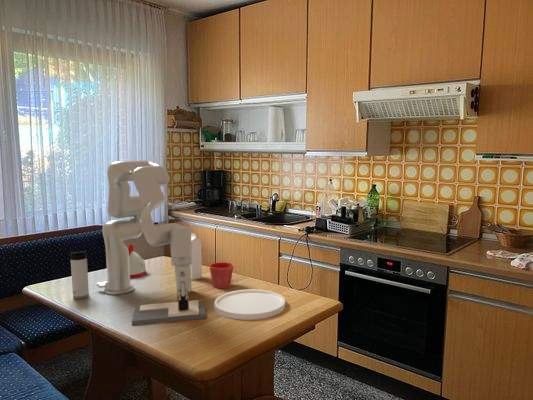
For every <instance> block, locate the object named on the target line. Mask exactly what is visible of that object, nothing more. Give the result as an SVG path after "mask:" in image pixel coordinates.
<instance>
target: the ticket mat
mask: <svg viewBox="0 0 533 400" xmlns="http://www.w3.org/2000/svg"><path fill="white" fill-rule="evenodd" d="M189 305H198V308H199V314H197V315H186V316H175V317H168V307H175V306H178V302H177V301H172V302H162V303H150V304H140V305H136V306H135V305H134V306H135V307H134V311H133V315H132V319H131V325H132V326H134V325H135V326H137V325H147V324H148V325H149V324H158V323H167V322H168V323H169V322H178V321H179V322H180V321H188V320H200V319H206V318H207V315H206V308H205V303H204V300H199V299H197V300H196V299H195V300H189Z"/></svg>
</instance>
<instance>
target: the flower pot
mask: <svg viewBox="0 0 533 400" xmlns="http://www.w3.org/2000/svg"><path fill="white" fill-rule="evenodd" d="M208 267H209V272H210V277H211V282H212V286H213V287H214V288H216V289H227V288H229V287H230V286H231V284H232V283H231V281H232V277H233V273H234V272H233V270H234V264H233V263H231V262H223V261H222V262H214V263H211V264H209V266H208Z"/></svg>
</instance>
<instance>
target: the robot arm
mask: <svg viewBox="0 0 533 400" xmlns="http://www.w3.org/2000/svg"><path fill="white" fill-rule="evenodd" d="M106 173H107V175H106V176H107V180H108V186H109V187H108V197H107V198H108V201H107V214H108V216H109V217H111V218H112V220H109V221H106V222H104V224H103V225H102V229H101V230H102V231H101V232H102V237H103V240H104V246H105V247H104V248H105V259H106V275H107V276H106V277H107V280H105V281H102V282H101V281H100V282H98V281H97V283H96V287H97V288H99V289H102V288H104V291H103V292H104V293H105V294H106V295H122V294H127V293H130V292H133V291H134V289H135V285H134V284H133V283H131V278H130V266H129V250H128V248H129V247H128V246H127V245H126V244H125V243H124V241H127V240H132V239H138V238H140V237H141V236H142V234H143V236H144V238H145V240H146V242H147V243H148V244H149V245H150V246H152V247H161V246H164V245H170V261H171V263H170V264H171V266H173V267H174V274H175V275H174V276H175V286H176V293H177V292H178V293H179V310H180V311H182V310H188V299H187V291H189V293H191V292H192V283H191V284H190V266H189V265H191V264H192V240H191V233H192V229H191V227H189V226H188V225H187V226H186V225H181V223H176V222H173V223H165V224H157V225H155V223H154V221H153V218H152V212H153V211H154V210H156V209H157V208H160V206H162V205H163V203H164V202H165V200H166V197H165V195H164V193H163V190H162V188H161V187H164V186H166V185H167V184H168V183H169V178H170V177H169V173H168V171H167V169H166V168H165V167H164V166H162V165H160V164H157V163H155V162H152V161H149V160H144V159H143V160H118V161H114V162H111V163H110V164H109V165H108V167H107V171H106ZM129 182H133V184H134V186H135V189H136V191H137V194H131V185H130V183H129ZM180 290H181V291H180Z"/></svg>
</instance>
